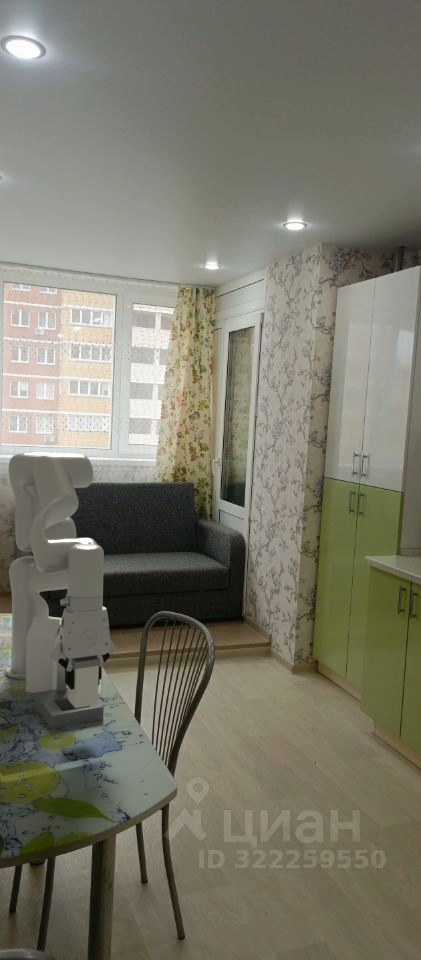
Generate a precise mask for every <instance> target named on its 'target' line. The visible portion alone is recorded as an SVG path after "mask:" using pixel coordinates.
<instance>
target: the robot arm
mask: <svg viewBox="0 0 421 960" xmlns="http://www.w3.org/2000/svg"><path fill="white" fill-rule="evenodd" d="M7 470H8V478H9V482H10V483H9V484H10V486H11V488H12V489H11V490H12V492H13V495H14V501H15V515H14V516H15V519H14V520H15V521H14V523H15V524H14V527H15V528H14V529H15V534H14V537H15V544H16V546H17V548H18V549H19V550H21V551H23V552H32V555H29V556H27V555H26V556H21V557H18V558H16V559H14V560H13V561H12V562H11V563H10V565H9V569H8V570H9V571H8V576H9V583H10V590H11V603H12V604H11V605H12V607H11V609H12V610H11V657H10V658H11V661H10V663H9V664H8V665H6V666H5V668H4V669H5V672H4V673H5V675H6V676H8V678H9V677H10V678H12V679H15V680H17V679H18V680H26V645H27V634H28V632H29V630H30V627H31V625H32V622H33V617H39V618H48V619H50V618H49V617H50V616H49V615H50V614H49V613H50V611H49V605H48V603H47V601H46V600H45V599H44V598H43V597H42V596H41V595H40V593H41V592H47V591H59V590H66V591H67V592H66V594H65V597H64V598H62V599H60V606H64V609H63V613H62V615H61V620H60V621H61V622H60V625H61V627H60V637H59V642H58V644H57V645H56V646H55V648H54V649H53V650H52V652H51V653H50V655H49V656H50V657H51V658H52V659H53V660H54V661H56V662H58V663H59V664H60V665H61V666H62V667H64V668H65V684H66V685H67V687H69V688H70V689H74V671H73V662H74V660H75V659H78V658H85V657H93V656H96V657H98V658H99V659H100V666H99V676H98V686H100V681H101V680H102V677H103V676H102V674H103V673H102V672H103V669H102V668H103V667H104V665H105V663H106V662H107V661H108V659H109V658H110V657H111V655H112V654H114V652H116V651H117V650H118V647H117V646H116V644H115V643H114V642H113V641H112V640H111V638H110V624H109V615H108V610H107V607H105V606H103V603H104V601H103V599H104V597H103V596H104V568H105V567H104V565H105V564H104V563H105V562H104V559H105V558H104V557H105V555H104V553H105V552H104V549H103V547H101V545H99V544H98V543H97V541H95V539H93V538H91V537H77V529H76V524H75V521H74V520H73V518H72V517H71V516H73V515H74V514H75V513H76V512H77V510H78V508H79V503H80V502H79V498H78V495H77V492H76V490H75V489H79V488H80V489H81V488H82V489H83V488H84V489H85V488H88V487H90V486H91V484H92V482H93V479H94V468H93V465H92V461H91V460H90V459H89V457H88V456H86V454H81V453H72V452H71V453H70V452H22V453H17V454H14V455H13V456H12V457H11V458H10V460H9V463H8V469H7ZM60 652H61V653H63V655H64V656H65V659H63V658H62V657H60V656H59V654H60Z"/></svg>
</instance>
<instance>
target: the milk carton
mask: <svg viewBox="0 0 421 960" xmlns="http://www.w3.org/2000/svg"><path fill="white" fill-rule="evenodd" d="M60 621H61V619H59V618H58V619H57V618H49V619H48V618H39V617H33V622H32V625H31V627H30V630H29V632H28V634H27V645H26V679H25V693H32V694H35V692H42V691H48V690H54V689H56V688H57V662H56V661H54V660H53V659H52V658H51V657H50V656H49V655H50V653H51V652H52V650H53V649H54V648H55V646H56V645H57V644H58V642H59V637H60V627H61V622H60Z"/></svg>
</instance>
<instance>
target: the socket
mask: <svg viewBox="0 0 421 960" xmlns="http://www.w3.org/2000/svg"><path fill="white" fill-rule="evenodd" d="M102 704H103V703H101V702H100V701H99V700H98V704H97V705H91V706H85V707H79V708H75V707H74V706H73V705H72V704H71V703H70V701H69V700H68V686H67V690H66V691H63V692H59V691H57V690H56V689H54V690H48V691H42V692H35V693H34V707H36V709H37V710H38V711H39V714H40V715H41V716H42V717H43V718H44V721H45V722H46V723H47V725H48V726H49V728H50V729H51V730H53V729H59V728H65V727H70V726H76V725H81V724H87V723H92V722H96V721H97V722H98V721H103V720H104V705H102Z"/></svg>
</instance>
